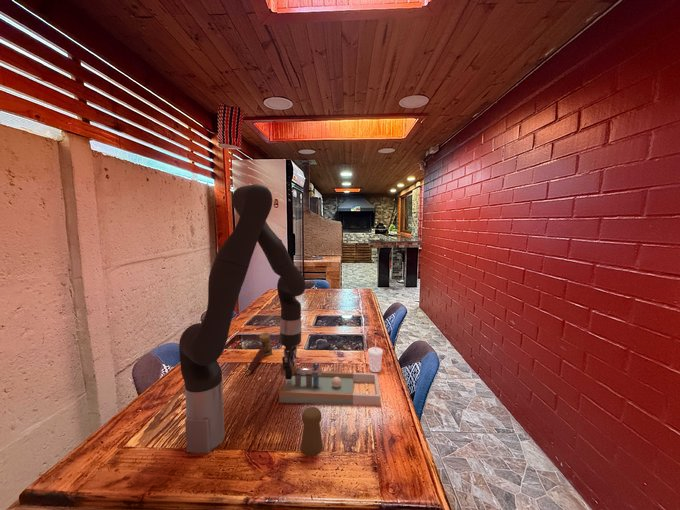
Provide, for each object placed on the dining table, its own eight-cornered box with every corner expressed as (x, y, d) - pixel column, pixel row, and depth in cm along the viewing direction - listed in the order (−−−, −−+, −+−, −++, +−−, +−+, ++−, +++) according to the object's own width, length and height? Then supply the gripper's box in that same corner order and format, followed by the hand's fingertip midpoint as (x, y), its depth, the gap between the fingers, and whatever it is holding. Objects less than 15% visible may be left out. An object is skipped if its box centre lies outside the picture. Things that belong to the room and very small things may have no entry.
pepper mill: (311, 436, 79) (311, 400, 78) (327, 447, 75) (327, 409, 74) (296, 449, 74) (295, 411, 73) (311, 461, 70) (311, 422, 69)
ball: (341, 389, 97) (341, 380, 97) (331, 389, 97) (331, 380, 97) (341, 384, 101) (341, 375, 100) (332, 383, 101) (332, 374, 100)
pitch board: (379, 407, 91) (380, 389, 91) (279, 403, 93) (279, 384, 93) (376, 383, 105) (377, 367, 105) (289, 379, 107) (289, 363, 106)
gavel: (254, 385, 110) (250, 365, 107) (243, 384, 111) (239, 364, 107) (273, 350, 130) (271, 332, 126) (264, 349, 130) (261, 331, 127)
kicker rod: (321, 387, 97) (321, 365, 97) (280, 386, 98) (280, 364, 97) (322, 382, 101) (322, 360, 100) (283, 380, 102) (283, 359, 101)
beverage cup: (365, 368, 116) (365, 336, 114) (378, 366, 118) (378, 334, 117) (371, 376, 110) (372, 342, 109) (385, 373, 112) (386, 340, 111)
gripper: (297, 338, 90) (296, 387, 92) (304, 323, 105) (303, 366, 106) (274, 337, 91) (274, 386, 93) (285, 322, 105) (284, 365, 107)
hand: (289, 375), depth 99 cm, fingers closed on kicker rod, 3 cm apart
